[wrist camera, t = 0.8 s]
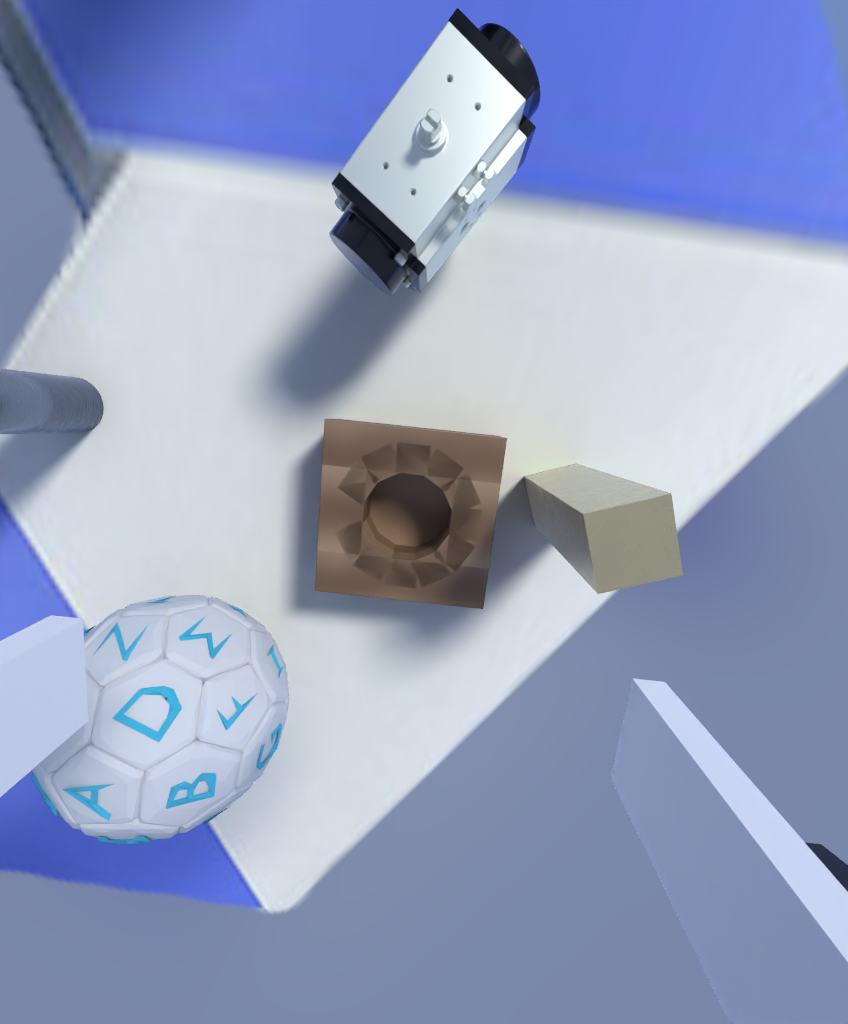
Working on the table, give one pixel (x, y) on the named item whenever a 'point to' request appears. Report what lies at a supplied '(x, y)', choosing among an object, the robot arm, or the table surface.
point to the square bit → (606, 526)
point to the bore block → (407, 512)
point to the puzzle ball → (168, 720)
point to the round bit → (47, 403)
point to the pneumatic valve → (437, 155)
